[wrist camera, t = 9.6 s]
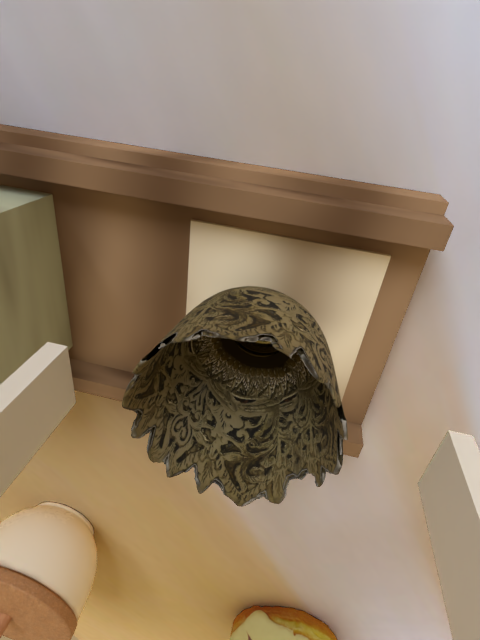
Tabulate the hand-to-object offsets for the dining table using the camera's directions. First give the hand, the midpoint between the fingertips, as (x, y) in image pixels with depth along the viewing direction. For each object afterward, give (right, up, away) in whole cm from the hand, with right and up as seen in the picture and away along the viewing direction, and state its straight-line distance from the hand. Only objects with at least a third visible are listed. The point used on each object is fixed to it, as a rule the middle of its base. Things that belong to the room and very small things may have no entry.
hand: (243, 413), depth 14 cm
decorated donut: (+5, -27, +25) cm, 38 cm away
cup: (+1, +4, +6) cm, 7 cm away
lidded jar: (-17, -16, +24) cm, 33 cm away
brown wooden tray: (-4, +5, +8) cm, 10 cm away
